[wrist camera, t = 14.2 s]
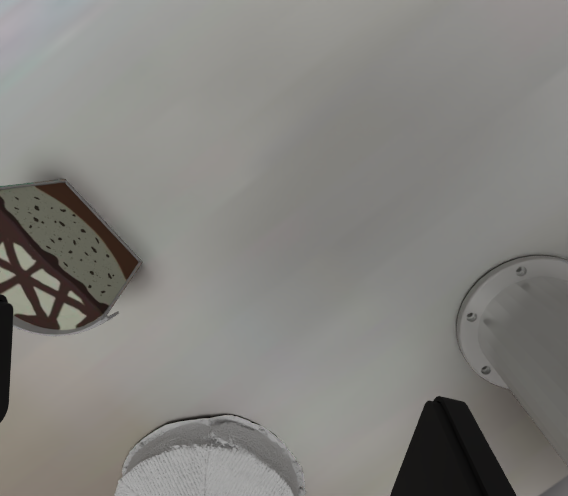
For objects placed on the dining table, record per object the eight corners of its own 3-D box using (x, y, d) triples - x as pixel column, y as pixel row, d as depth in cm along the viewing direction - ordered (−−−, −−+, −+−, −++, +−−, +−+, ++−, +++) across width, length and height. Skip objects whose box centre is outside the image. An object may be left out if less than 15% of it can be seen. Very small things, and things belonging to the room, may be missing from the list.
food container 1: (4, 210, 38) (-95, 243, 29) (52, 165, 37) (-36, 183, 27) (106, 313, 41) (46, 375, 31) (154, 274, 39) (107, 326, 30)
